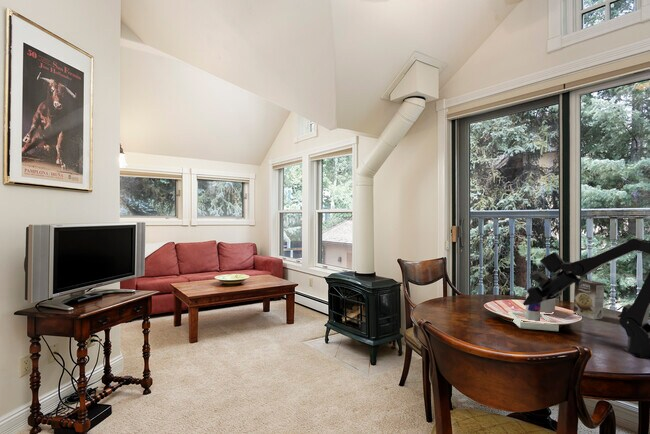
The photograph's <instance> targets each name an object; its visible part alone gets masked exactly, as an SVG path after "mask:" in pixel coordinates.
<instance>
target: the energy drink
mask: <svg viewBox="0 0 650 434" xmlns="http://www.w3.org/2000/svg"><path fill="white" fill-rule="evenodd" d="M528 296H529V293H528V292H527V293H526V295H525V299H526V298H527V297H528ZM540 311H541V303H537V304H531V305H525V312H524V313H525V319H528V320H535V321H540Z"/></svg>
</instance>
